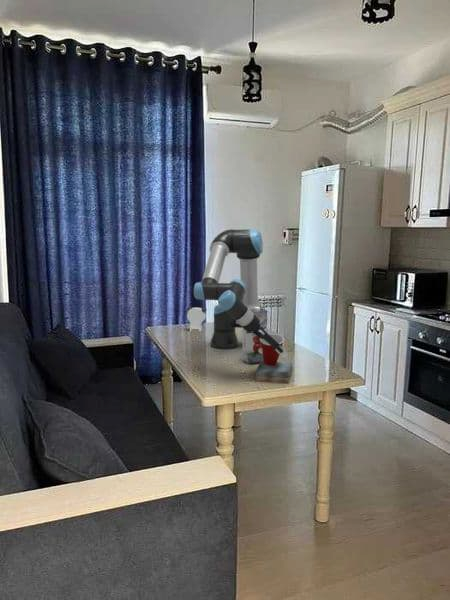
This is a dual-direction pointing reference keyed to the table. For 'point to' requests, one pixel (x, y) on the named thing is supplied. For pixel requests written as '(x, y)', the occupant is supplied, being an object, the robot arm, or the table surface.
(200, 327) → the white rounded piece
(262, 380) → the build plate
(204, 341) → the table surface
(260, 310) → the juice carton
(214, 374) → the table surface
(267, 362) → the plastic cup
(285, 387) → the table surface
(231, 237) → the robot arm
